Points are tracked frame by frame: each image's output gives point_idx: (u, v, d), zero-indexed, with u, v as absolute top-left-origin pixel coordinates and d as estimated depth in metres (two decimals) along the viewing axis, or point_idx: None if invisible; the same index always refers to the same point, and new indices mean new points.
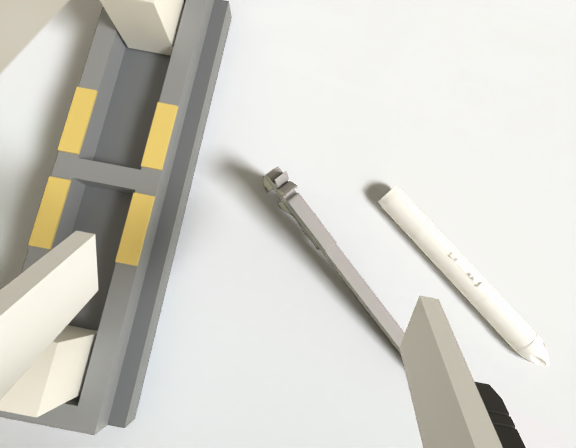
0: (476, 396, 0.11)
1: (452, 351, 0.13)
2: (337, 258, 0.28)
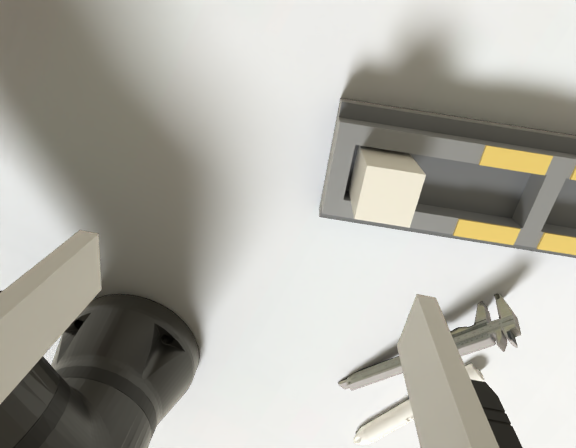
0: (472, 393, 0.11)
1: (449, 349, 0.13)
2: None
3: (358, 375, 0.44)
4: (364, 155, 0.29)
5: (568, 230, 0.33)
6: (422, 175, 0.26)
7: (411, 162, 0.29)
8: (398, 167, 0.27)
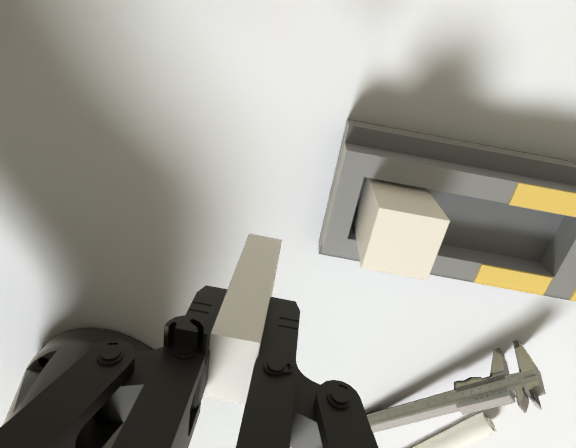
0: (264, 303, 0.13)
1: (266, 274, 0.15)
2: (447, 409, 0.35)
3: None
4: (375, 191, 0.24)
5: None
6: (445, 221, 0.22)
7: (430, 201, 0.24)
8: (416, 209, 0.22)
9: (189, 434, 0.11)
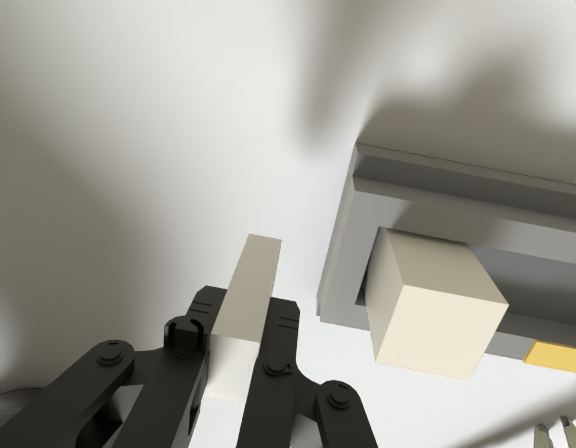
0: (264, 303, 0.13)
1: (266, 274, 0.15)
2: None
3: None
4: (395, 251, 0.17)
5: None
6: (502, 305, 0.15)
7: (473, 264, 0.17)
8: (457, 284, 0.15)
9: (189, 434, 0.11)
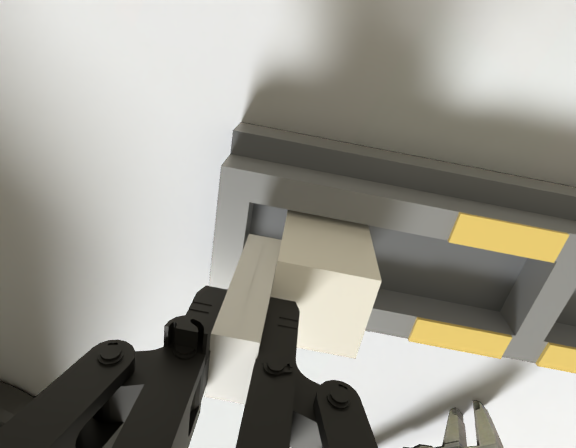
0: (264, 302, 0.13)
1: (266, 274, 0.15)
2: None
3: None
4: (285, 231, 0.17)
5: None
6: (375, 281, 0.15)
7: (364, 244, 0.17)
8: (336, 261, 0.15)
9: (189, 434, 0.11)
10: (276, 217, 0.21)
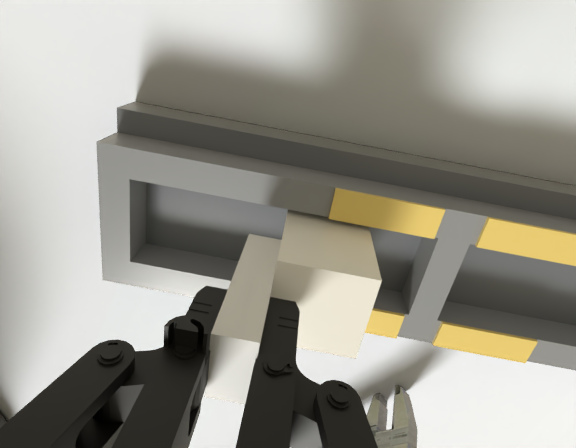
0: (264, 302, 0.13)
1: (266, 274, 0.15)
2: None
3: None
4: (285, 230, 0.17)
5: (484, 315, 0.22)
6: (375, 281, 0.15)
7: (364, 244, 0.17)
8: (336, 261, 0.15)
9: (189, 434, 0.11)
10: (170, 197, 0.21)
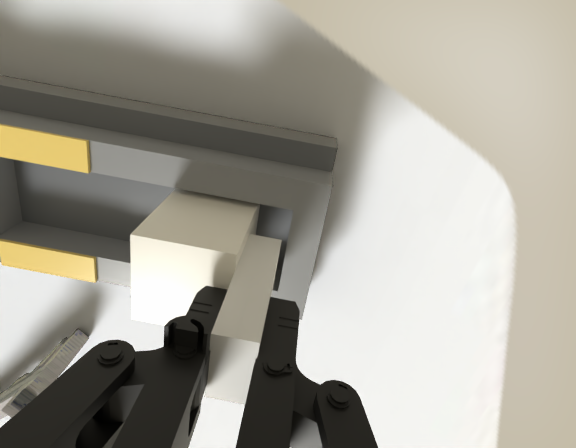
0: (264, 303, 0.13)
1: (266, 274, 0.15)
2: None
3: None
4: None
5: (67, 237, 0.21)
6: None
7: None
8: None
9: (189, 434, 0.11)
10: None
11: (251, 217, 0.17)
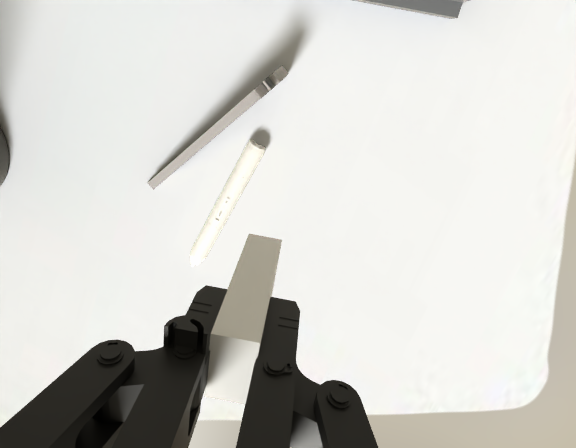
0: (264, 303, 0.13)
1: (266, 274, 0.15)
2: (218, 126, 0.39)
3: None
4: None
5: None
6: None
7: None
8: None
9: (189, 434, 0.11)
10: None
11: None
